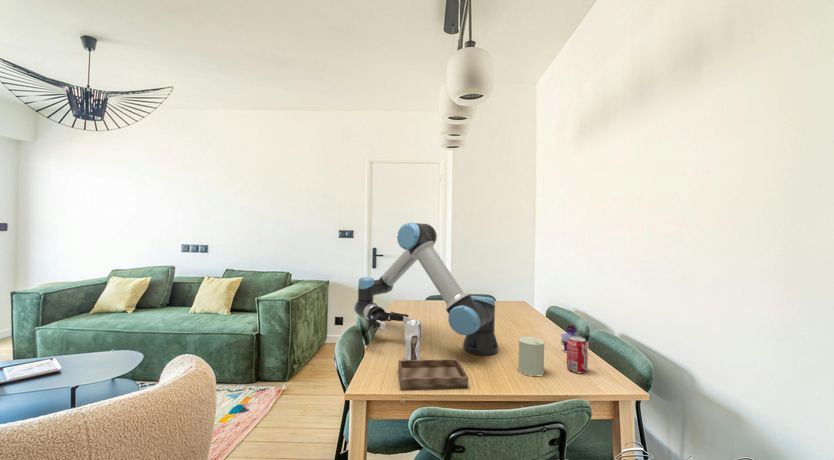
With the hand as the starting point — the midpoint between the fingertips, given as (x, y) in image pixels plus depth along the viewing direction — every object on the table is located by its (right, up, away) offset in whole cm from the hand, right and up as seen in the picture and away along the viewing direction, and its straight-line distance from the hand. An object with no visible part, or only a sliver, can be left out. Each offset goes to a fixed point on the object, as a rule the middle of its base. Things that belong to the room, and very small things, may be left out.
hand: (398, 324), depth 140 cm
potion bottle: (+75, -14, +5) cm, 76 cm away
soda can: (+68, -13, -15) cm, 71 cm away
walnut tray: (+12, -12, -25) cm, 30 cm away
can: (+50, -13, -17) cm, 54 cm away
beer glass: (+6, -12, -8) cm, 16 cm away
